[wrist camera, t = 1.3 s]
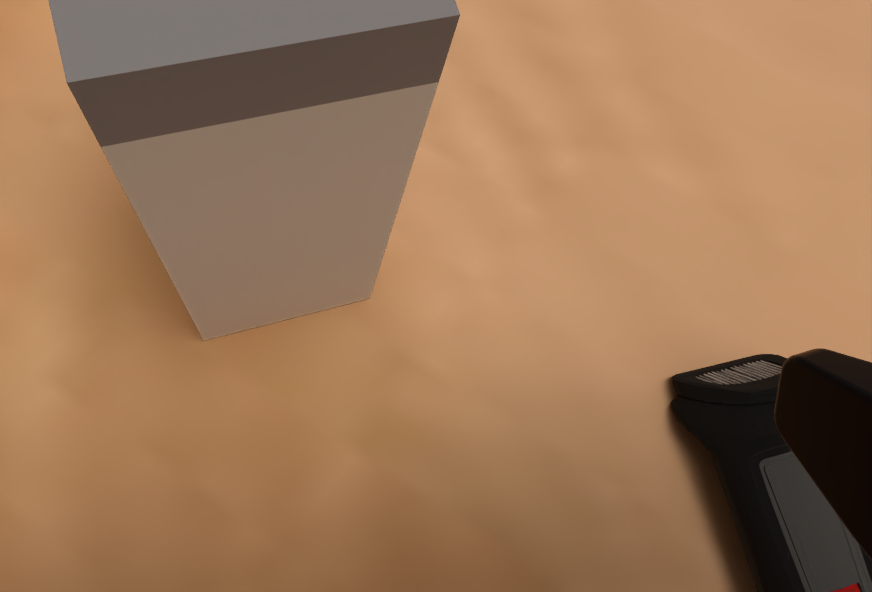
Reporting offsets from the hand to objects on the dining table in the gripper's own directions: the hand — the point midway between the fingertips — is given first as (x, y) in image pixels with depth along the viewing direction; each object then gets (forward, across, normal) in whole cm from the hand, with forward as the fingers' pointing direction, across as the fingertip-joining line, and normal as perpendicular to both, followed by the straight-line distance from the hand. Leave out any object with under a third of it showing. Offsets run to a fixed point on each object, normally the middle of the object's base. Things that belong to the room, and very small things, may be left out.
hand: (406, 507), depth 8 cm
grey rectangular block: (+14, 0, +4) cm, 14 cm away
